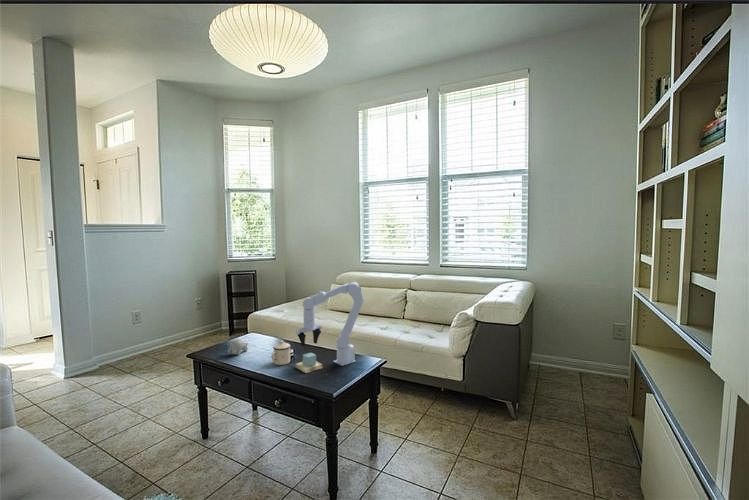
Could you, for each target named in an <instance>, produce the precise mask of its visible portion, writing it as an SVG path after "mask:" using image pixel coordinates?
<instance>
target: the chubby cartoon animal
mask: <svg viewBox="0 0 749 500" xmlns="http://www.w3.org/2000/svg"><path fill="white" fill-rule="evenodd" d="M229 345H230V346H229V348H228V349H227V353H228V354H232V355H235V356H239V355H241V351H243V352H244V353H245V352H248V349H249V345H248V342H245V341H244V342H243V340H241V339H240V338H238V339H237V338H235V339H233V340H232V341H231V342H230V344H229Z"/></svg>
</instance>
